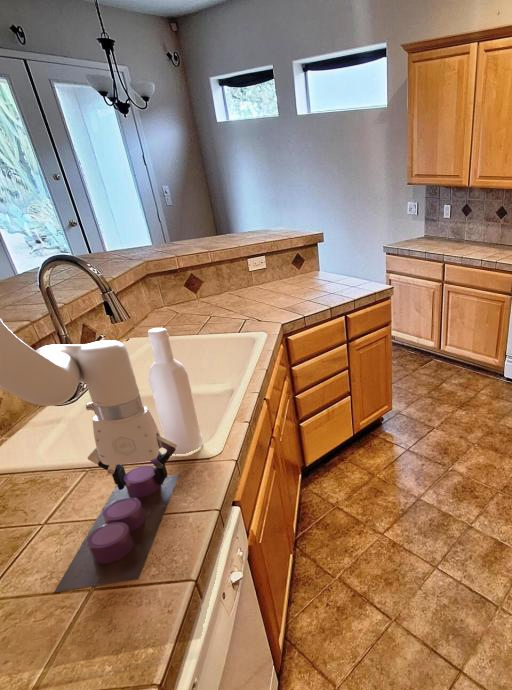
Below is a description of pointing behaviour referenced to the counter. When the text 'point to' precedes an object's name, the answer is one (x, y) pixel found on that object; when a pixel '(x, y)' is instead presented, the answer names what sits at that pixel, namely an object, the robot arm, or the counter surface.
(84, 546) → the dark grey board
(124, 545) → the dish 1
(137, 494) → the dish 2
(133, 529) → the dish centre
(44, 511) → the counter surface
